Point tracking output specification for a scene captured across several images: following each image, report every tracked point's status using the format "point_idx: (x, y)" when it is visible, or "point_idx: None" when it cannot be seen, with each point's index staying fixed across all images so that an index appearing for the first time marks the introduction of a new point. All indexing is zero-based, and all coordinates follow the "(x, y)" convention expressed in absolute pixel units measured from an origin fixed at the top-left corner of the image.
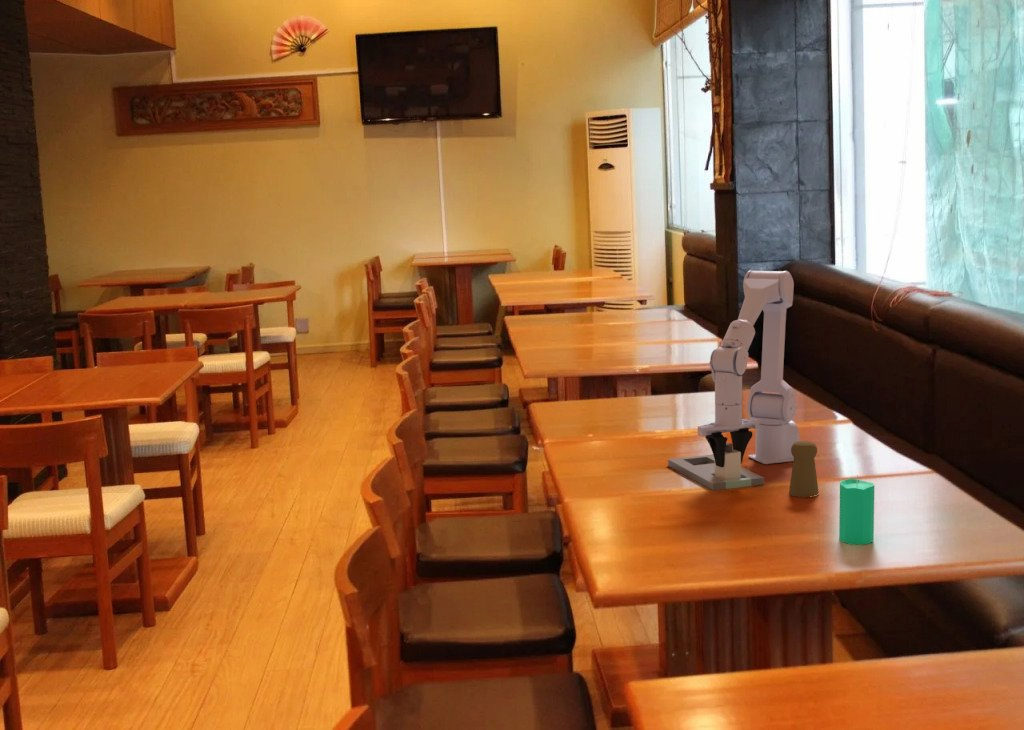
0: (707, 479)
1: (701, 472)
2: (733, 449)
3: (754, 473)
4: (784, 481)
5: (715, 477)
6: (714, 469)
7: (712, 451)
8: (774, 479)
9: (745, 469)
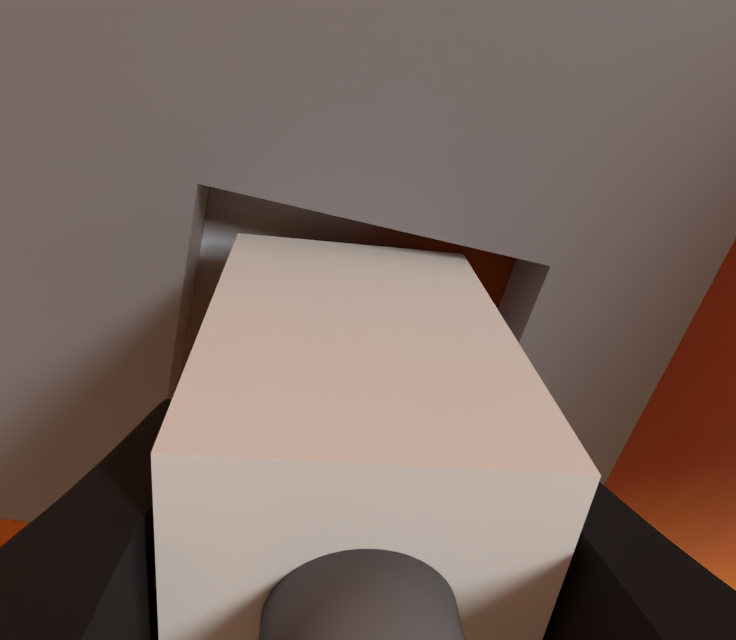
0: (16, 374)
1: (129, 43)
2: (551, 589)
3: (612, 455)
4: (716, 550)
5: (155, 359)
6: (407, 23)
7: (4, 553)
8: (722, 477)
9: (694, 284)
